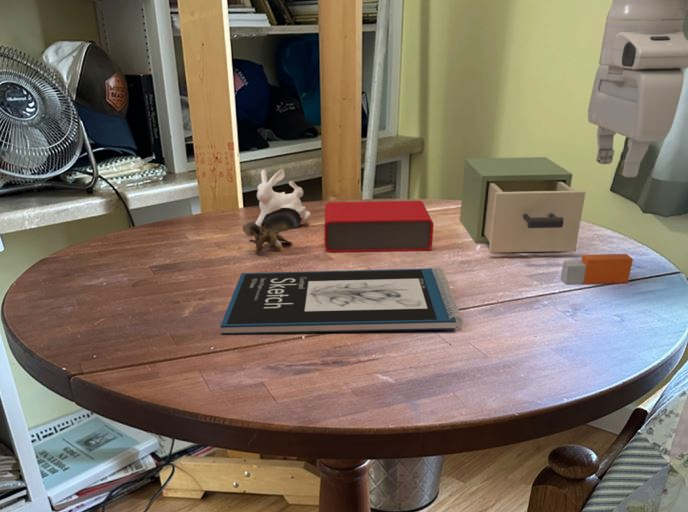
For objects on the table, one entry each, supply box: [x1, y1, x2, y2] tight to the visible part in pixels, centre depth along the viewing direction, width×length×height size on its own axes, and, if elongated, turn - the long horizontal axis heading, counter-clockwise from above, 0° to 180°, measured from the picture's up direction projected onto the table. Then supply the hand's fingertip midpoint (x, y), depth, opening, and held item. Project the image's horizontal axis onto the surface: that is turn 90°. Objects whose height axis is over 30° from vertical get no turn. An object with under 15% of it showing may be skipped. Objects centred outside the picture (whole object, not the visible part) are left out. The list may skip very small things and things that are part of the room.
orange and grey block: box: [560, 253, 634, 285], centre depth 101 cm, size 9×3×4 cm, turn 90°
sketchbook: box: [219, 266, 464, 335], centre depth 95 cm, size 22×30×2 cm
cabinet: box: [459, 156, 573, 244], centre depth 124 cm, size 17×15×11 cm
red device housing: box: [323, 200, 434, 253], centre depth 121 cm, size 18×14×5 cm
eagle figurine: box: [241, 207, 302, 255], centre depth 118 cm, size 8×7×9 cm
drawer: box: [482, 180, 587, 253], centre depth 114 cm, size 21×14×9 cm, turn 0°
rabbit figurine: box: [254, 168, 312, 227], centre depth 131 cm, size 12×8×10 cm, turn 95°
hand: (615, 169), depth 94 cm, fingers open, 8 cm apart
